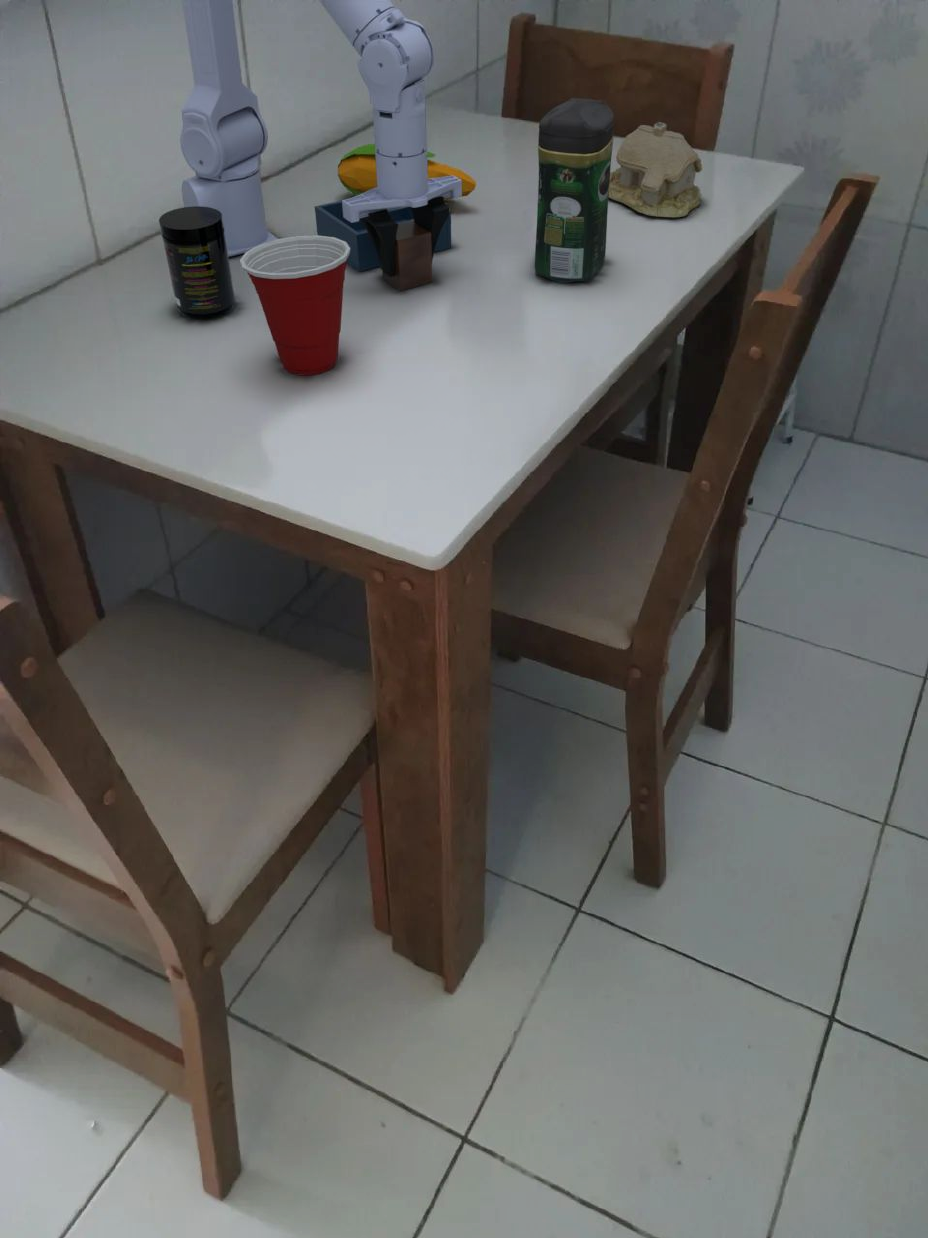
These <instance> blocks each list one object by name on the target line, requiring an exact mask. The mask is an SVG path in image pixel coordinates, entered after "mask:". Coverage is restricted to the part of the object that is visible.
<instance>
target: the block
mask: <svg viewBox="0 0 928 1238" xmlns="http://www.w3.org/2000/svg"><path fill="white" fill-rule="evenodd" d="M395 258H396V271H395V276H393V277H389V276H388V275H386V274H385V273H383V272H382V271H381V273H382V279H383V280H384V281H387V283H389V284H390V285H391V286H393V287H394V288H396V289H397V290H399V291H401V292H402V291H405V290H406V291H407V290H409V289H412V288H417V287H419V286H424V285H428V284H432V283H433V260H432V251H431V232H429V231H427V230H426V229H424V228H423V227H421V226H419V225H418V224H416V223H415V222H413V221H409V222H405V223H401V224H398V229H397V234H396V242H395Z"/></svg>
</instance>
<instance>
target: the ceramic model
mask: <svg viewBox="0 0 928 1238" xmlns="http://www.w3.org/2000/svg"><path fill="white" fill-rule="evenodd" d="M615 160H616V163H617V164H618V165H620V166H619V167H618V168H615V170H614V171H610V182H609V198H610V199H611V200H613V201H617V202H619V203H621V204H624V205H626V206H628V207H630V208H631V209H633V210H634V211H636V212H637V213H640V214H644V215H646V216H650V217H661V218H680V217H686V216H687V215H688V214H689V212H690V211H692V210H693V209H695V208H697V207H698V206H699V205H700V203H701V201H702V193H701V189H700V187H699V186H698V185H695V181H696V173H701V172H702V170H703V164H702V160H701V158H700V157H699V153H697V152H696V151H695V149H694V148H692V146H691V145H690V144H689V143H688V141H687V140H686V139H685V137H684V135H683V134H681V133H679V132H675V131H672V130H667V124H666V123H665V122H660V121H658V122H656V123H654V125H653V126H650V125H648V124H647V125H646V124H641V125H639V126H638V127H637V128H636V129H634V130H633V132H631V133H629V134H627V135H626V136H625V138H624V140H623V141H622V142H621V144H620V146H619V149H618V150H617V153H616V156H615ZM609 198H608V199H609Z"/></svg>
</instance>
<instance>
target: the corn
mask: <svg viewBox="0 0 928 1238" xmlns="http://www.w3.org/2000/svg"><path fill="white" fill-rule="evenodd" d="M435 156H436V153H433V152H431V151H428V150H427V169H428V178H439V177H446V176H452V175H453V176H455V177H457V178H459V179H461V180H462V197H467V196H469V195H470V194H471V193H472V192H473V191H475V189H476V187H477V182H476V181H475V179H473V178H472V177H471V176H470V175H469V174H467V173H466V172H464V171H463V170H461V169H459V168H457V167H453V166H450V165H446V164H444V163H440V162H437V161H434V160H431V158H434V157H435ZM428 158H429V159H428ZM337 177H338V179H339V181H340V183H341V184H342V186H343V187H344V188H345V189H346V190H347V191H348V192H351V194H354V195H355V196H358V195H360V194H362V193H364V192H367V191H369V190H371V189H374V188H376V187H377V172H376V156H375V143H367V144H364V145H361V146H358V147H356V148H354V149H352V150H351V151H349V152H348V153H346V154H344V155H343V157H342V159H341V160H340V162H339V163H338V165H337ZM462 197H461V198H462ZM452 199H454V198H453V197H448V198H444V201H447V200H452Z"/></svg>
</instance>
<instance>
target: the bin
mask: <svg viewBox="0 0 928 1238" xmlns="http://www.w3.org/2000/svg"><path fill="white" fill-rule="evenodd" d="M346 199H347V198H346ZM346 199H344V200H346ZM342 200H343V199H342ZM342 200H337V201H333V202H329V203H328V202H327V203H324V204H320V205H315V206H314V214H315V215H314V216H315V224H316V231H317V232H316V233H317V234H316V235H318V236H327V237H335V238H337V239H340V240H342V241H345V242H346V243H347V244H348V246H349V247H350V254H349V256H348V258H347V262H346V264H348V265H350V267H352V268H354V270H356V271H358V272H363V271H367V270H371V269H374V268H379V267H381V264H380V261H379V257H378V254H377V251H376V249H375V246H374V244H373V242H372V239H371V237H370V235H369V233H368V232H367V230H366V228H365V226H364V225H363V223H362V221H361V220H360V218H359V221H357V222H353V223H351V222H350V221H348V220H346V219H345V218H344V217H343V207H342ZM388 215H391V220H392V221H394V222H396V223H397V224H401V223H405V222H409V221H413V222H414V217H413V212H412V207H406V208H402V209H397V210H393V211H389V212H388ZM451 248H452V212H451V211H450V213H449V216H448V218H447V220H446V221H445V223H444V225H443V227H442V229H441V232H440V234H439V237H438V240H437V243H436V247H435V251H434V253H436V252H441V251H444V250H448V249H451Z"/></svg>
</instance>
